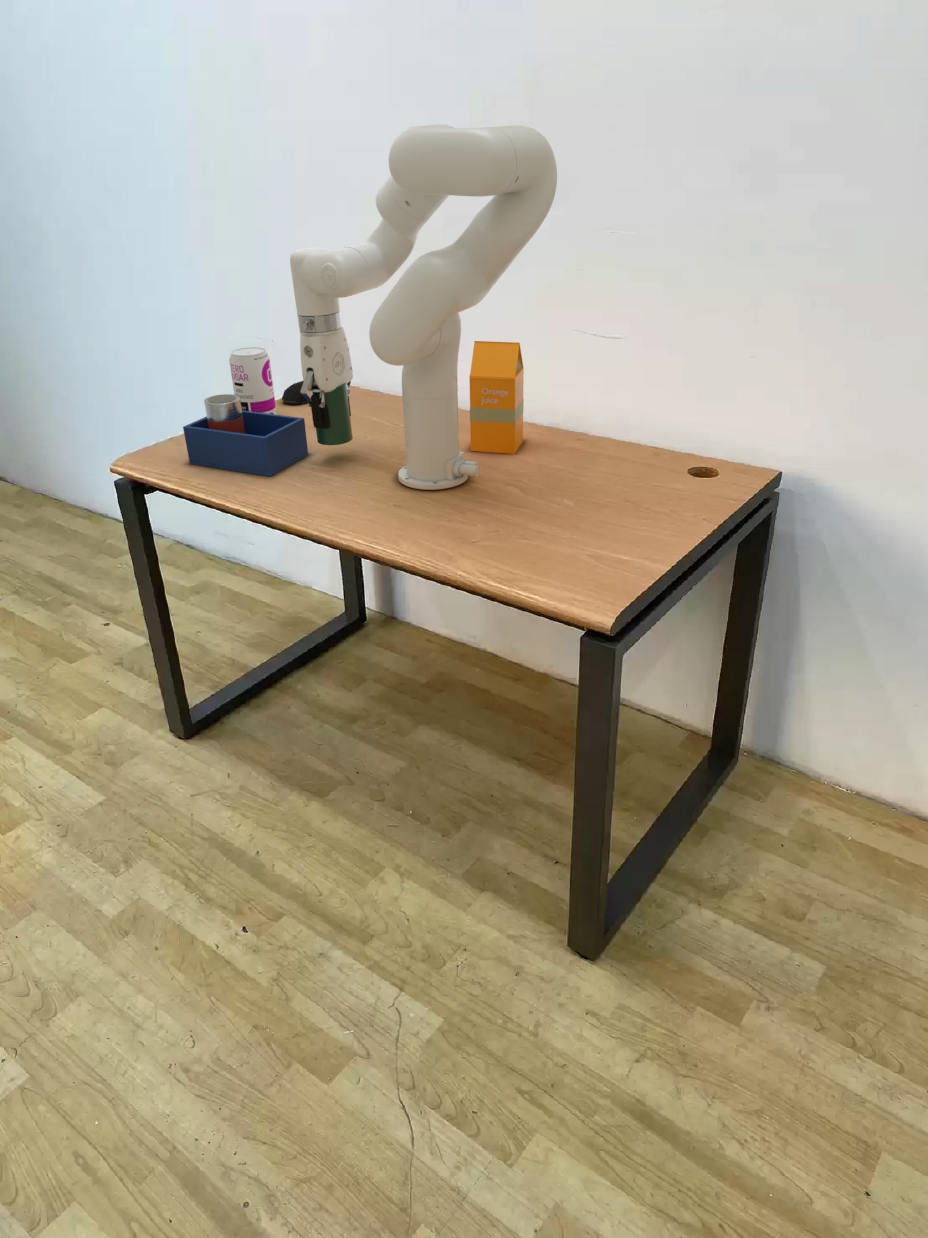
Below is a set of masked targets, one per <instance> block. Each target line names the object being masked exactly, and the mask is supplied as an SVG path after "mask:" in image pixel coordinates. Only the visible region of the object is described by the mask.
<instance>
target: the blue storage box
mask: <svg viewBox="0 0 928 1238" xmlns="http://www.w3.org/2000/svg"><path fill="white" fill-rule="evenodd" d="M242 414H243V420H244V427H245V433H246V434H242V433H235V432H228V431H220V430H213V429H209V427H208V421H207V415H206V416H204V417H202V418H200V419H197V420H195V421H193V422H191V423H188V424H186V425H184V426H182V429H183V434H184V440H185V446H186V451H187V456H188V463H189V465H194V466H200V467H206V468H213V469H220V470H227V471H233V472H239V473H245V474H251V475H258V476H263V477H269V478H270V477H272V476H274V475H276V474H278V473H279V472H281V471H283V470H285V469H286V468H288V467H290V466H291V465H293V464H295V463H296V462H298V461H300V460H303V459H304V458H306V457H307V456H309V449H308V448H309V447H308V440H307V431H306V423H305V418H304V417H297V416H291V415H283V414H277V415H275V414H267V413H259V412H251V411H244V410H242Z"/></svg>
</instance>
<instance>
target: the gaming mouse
mask: <svg viewBox="0 0 928 1238" xmlns="http://www.w3.org/2000/svg"><path fill="white" fill-rule="evenodd" d="M303 383H304V381H303V380H301V381H298V382H295V383H293V384H291V385H289V386H288V387H287V388H286V389H285V390H284V391H283V394H282V396H281V397H282V398H281V400H282V401H283V402H284V403H287V404H290V405H291V404H292V405H303V404H307V403H308V402H307V401H306V399H305V398H304V397H303V395H302V394H301V388H302V385H303Z"/></svg>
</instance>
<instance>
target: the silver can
mask: <svg viewBox="0 0 928 1238" xmlns="http://www.w3.org/2000/svg"><path fill="white" fill-rule="evenodd" d="M203 403H204V409H205V414H206V416H207V421H208V427H209V429H213V430H220V431H228V432H235V433H242V434H246V433H245V427H244V420H243V414H242V407H241V400H240V397H239V396H237V395H234V393H233V394H231V393H222V394H215V395H211V396H208V397H206V398H204V401H203Z"/></svg>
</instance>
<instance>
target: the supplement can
mask: <svg viewBox="0 0 928 1238" xmlns="http://www.w3.org/2000/svg"><path fill="white" fill-rule="evenodd" d="M230 353H231V354H230V357H229V359H228V361H229V369H230V374H231V380H232V388H233V395H237V396H239V397H240V400H241V407H242V410H244V411H251V412H259V413H267V414H275V415H278V414H277V413H278V412H277V406H276V398H275V391H274V383H273V382H274V381H273V376H272V375H273V374H272V368H271V360H270V356H269V354H268V353H267V351H266V348H263V347H258V346H257V347H255V346H251V347H240V348H236V349H233V350H232V351H231V352H230Z"/></svg>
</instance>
